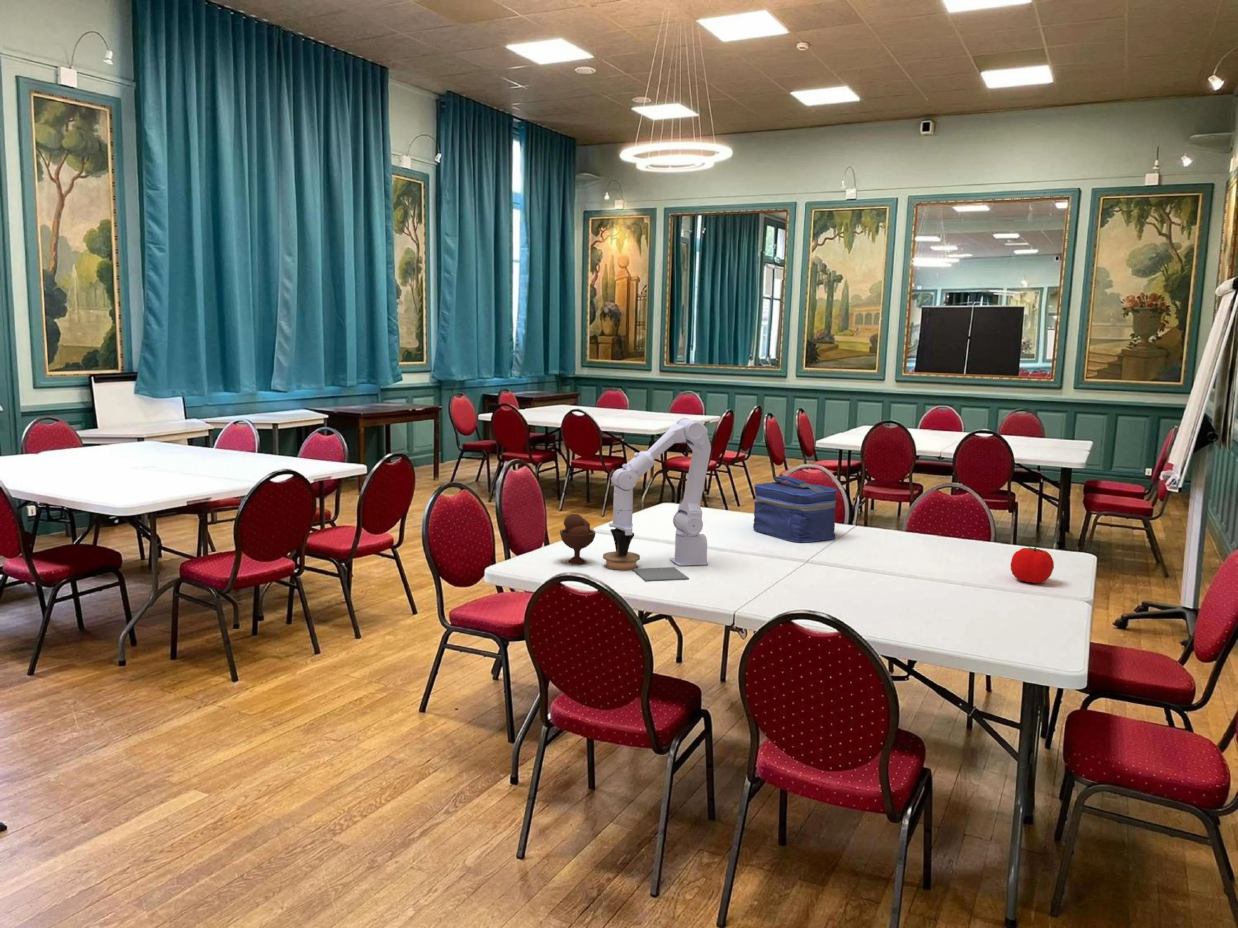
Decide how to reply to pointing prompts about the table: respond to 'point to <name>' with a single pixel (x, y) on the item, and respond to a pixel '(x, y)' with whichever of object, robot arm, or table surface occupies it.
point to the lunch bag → (795, 510)
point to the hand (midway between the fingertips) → (621, 554)
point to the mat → (660, 574)
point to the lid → (621, 557)
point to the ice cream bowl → (577, 536)
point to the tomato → (1032, 565)
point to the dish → (621, 565)
